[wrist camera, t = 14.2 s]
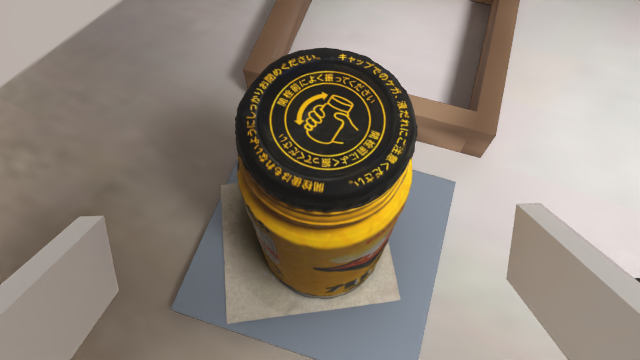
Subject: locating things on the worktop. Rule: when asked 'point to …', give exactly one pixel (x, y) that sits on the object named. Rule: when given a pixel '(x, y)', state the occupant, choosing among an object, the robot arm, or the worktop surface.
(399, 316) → the mat
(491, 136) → the pocket
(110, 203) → the worktop surface
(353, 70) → the condiment
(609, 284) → the robot arm
